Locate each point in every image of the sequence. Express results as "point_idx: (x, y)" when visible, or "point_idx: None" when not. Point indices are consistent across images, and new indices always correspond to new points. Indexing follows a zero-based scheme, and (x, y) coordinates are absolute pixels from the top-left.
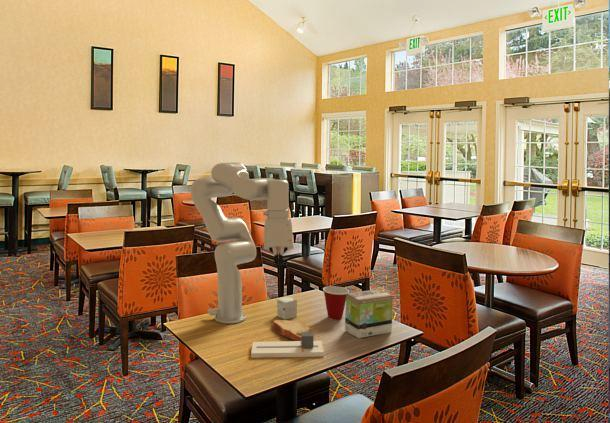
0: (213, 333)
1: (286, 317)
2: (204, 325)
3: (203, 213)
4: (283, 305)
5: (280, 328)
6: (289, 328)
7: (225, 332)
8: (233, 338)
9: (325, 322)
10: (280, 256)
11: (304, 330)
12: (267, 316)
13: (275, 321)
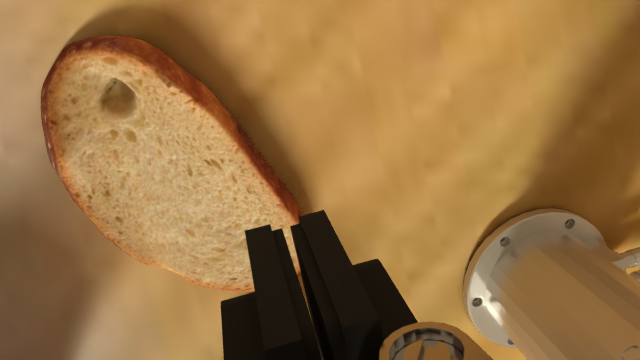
0: (579, 75)
1: None
2: (634, 169)
3: None
4: None
5: (242, 141)
6: (195, 167)
7: (525, 100)
8: (471, 24)
9: (38, 348)
10: (264, 329)
11: (92, 145)
12: None
13: None
